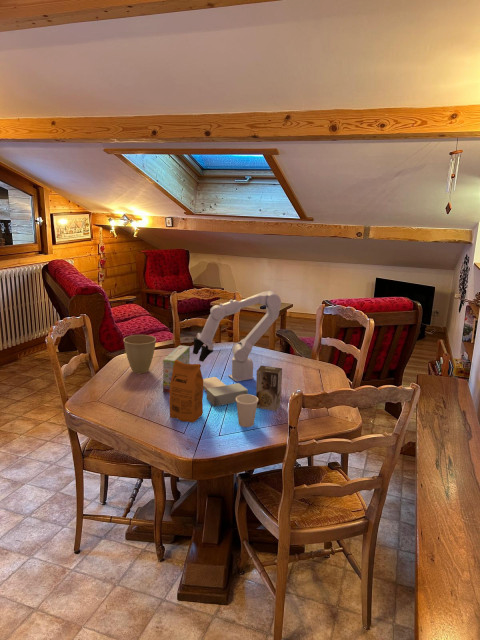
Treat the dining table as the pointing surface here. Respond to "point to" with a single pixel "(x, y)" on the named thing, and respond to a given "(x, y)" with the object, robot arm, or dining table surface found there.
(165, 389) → the snack box
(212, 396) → the beige slab
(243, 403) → the dixie cup
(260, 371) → the coffee box
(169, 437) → the dining table surface
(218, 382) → the tile
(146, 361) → the plant pot
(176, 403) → the coffee package
